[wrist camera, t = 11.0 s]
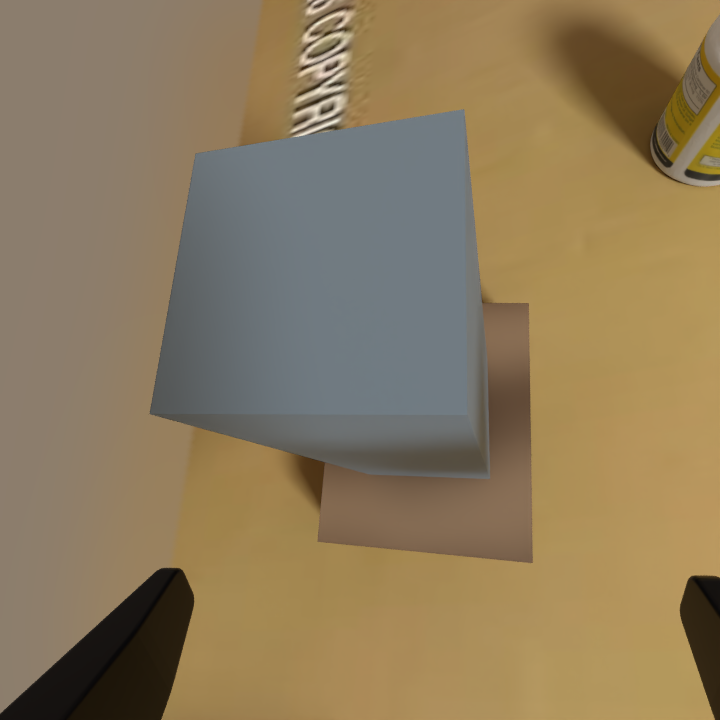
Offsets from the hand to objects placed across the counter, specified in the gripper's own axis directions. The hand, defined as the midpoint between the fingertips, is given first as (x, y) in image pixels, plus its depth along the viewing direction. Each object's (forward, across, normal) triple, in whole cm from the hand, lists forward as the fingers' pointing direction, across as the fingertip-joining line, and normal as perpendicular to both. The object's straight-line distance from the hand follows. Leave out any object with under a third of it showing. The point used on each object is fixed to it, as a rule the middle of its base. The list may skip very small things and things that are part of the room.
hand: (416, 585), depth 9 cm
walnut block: (+13, 0, +7) cm, 15 cm away
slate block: (+10, 0, +4) cm, 11 cm away
